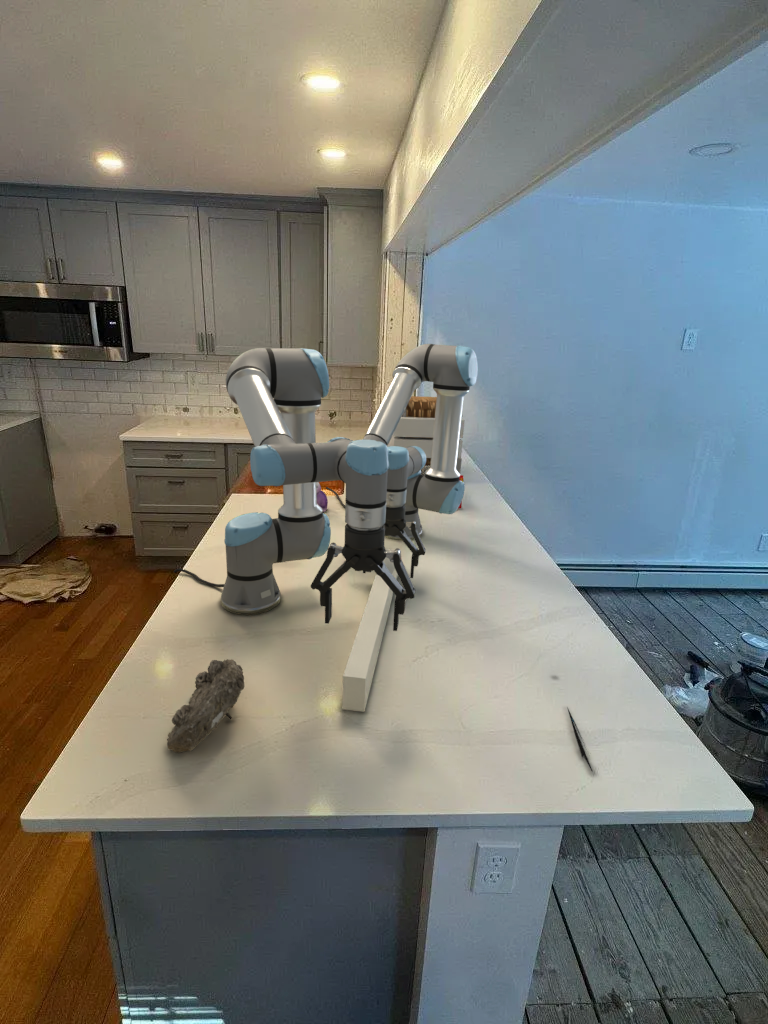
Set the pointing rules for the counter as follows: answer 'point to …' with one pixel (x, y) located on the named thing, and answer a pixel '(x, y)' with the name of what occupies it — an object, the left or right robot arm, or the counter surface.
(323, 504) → the figurine
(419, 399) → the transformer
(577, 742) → the feather
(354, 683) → the beam
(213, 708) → the fossil
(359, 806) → the counter surface
